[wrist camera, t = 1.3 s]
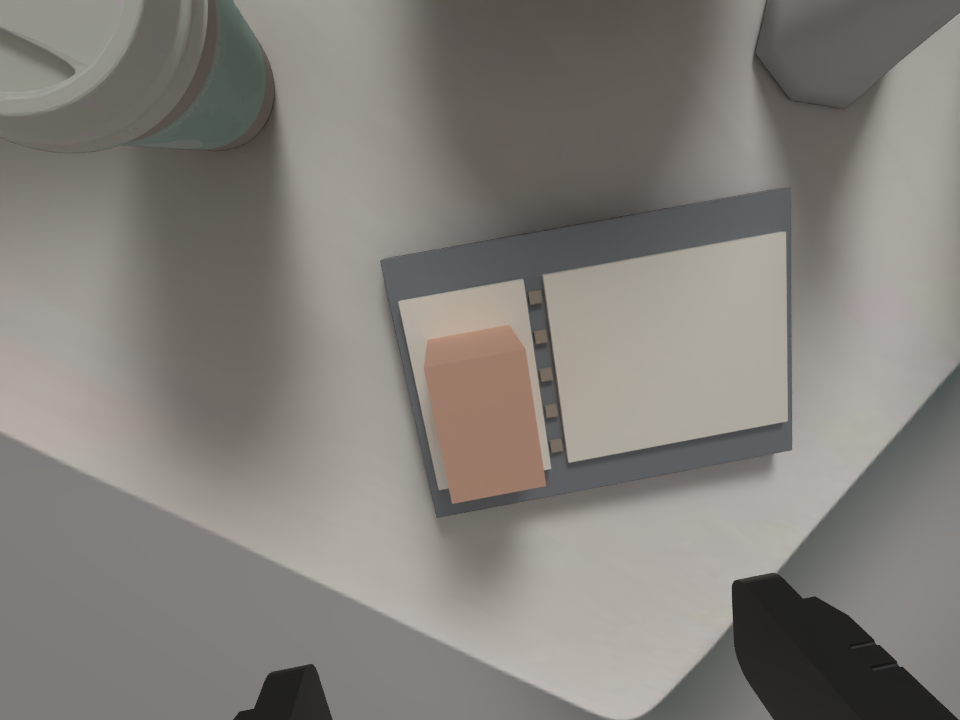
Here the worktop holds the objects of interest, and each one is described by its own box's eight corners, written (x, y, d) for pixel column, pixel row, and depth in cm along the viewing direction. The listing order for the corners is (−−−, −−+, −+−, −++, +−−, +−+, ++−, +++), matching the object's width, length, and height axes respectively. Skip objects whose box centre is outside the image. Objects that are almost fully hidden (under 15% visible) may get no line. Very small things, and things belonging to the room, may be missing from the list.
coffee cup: (65, 52, 22) (-345, -136, 11) (216, -73, 21) (-49, -422, 10) (202, 219, 24) (-16, 213, 13) (344, 110, 24) (249, 0, 12)
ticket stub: (521, 278, 25) (543, 293, 19) (549, 463, 27) (575, 522, 22) (399, 300, 24) (386, 322, 19) (438, 484, 27) (437, 549, 22)
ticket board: (770, 189, 26) (795, 187, 24) (774, 439, 30) (796, 453, 28) (383, 258, 25) (379, 261, 24) (437, 503, 29) (436, 521, 27)
